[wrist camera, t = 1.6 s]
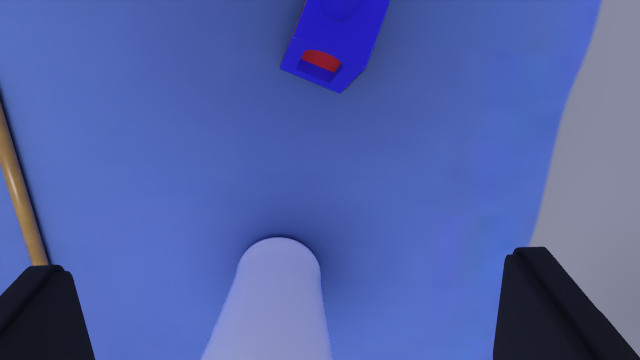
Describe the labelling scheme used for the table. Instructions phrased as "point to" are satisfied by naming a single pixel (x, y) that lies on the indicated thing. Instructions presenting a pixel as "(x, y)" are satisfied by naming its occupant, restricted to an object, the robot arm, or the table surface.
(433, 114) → the table surface
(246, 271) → the drinking glass
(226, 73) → the table surface
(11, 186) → the wooden stick
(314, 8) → the toy building block
